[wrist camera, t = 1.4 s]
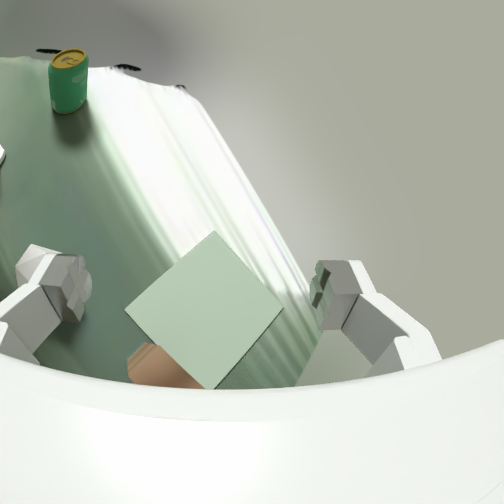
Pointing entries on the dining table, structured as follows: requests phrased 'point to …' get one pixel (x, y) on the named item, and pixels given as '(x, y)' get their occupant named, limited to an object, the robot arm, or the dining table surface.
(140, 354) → the walnut block
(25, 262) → the die
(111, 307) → the dining table surface
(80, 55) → the beverage can
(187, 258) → the green mat
